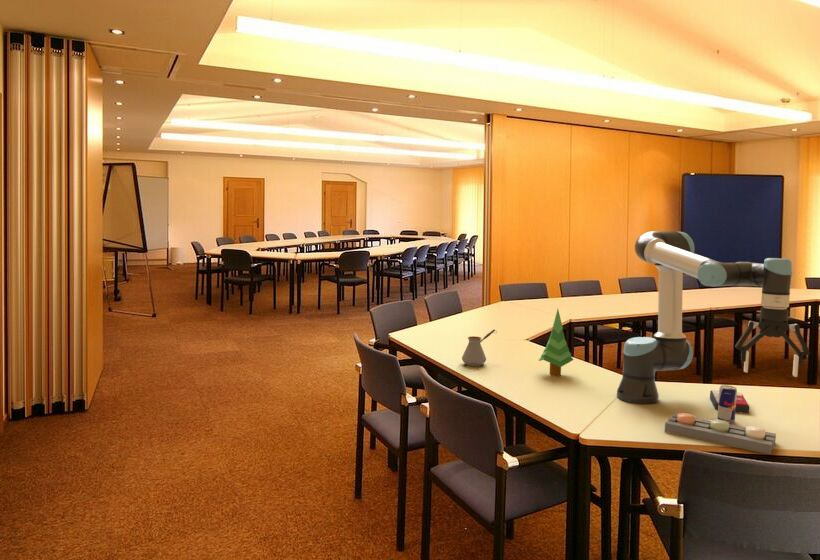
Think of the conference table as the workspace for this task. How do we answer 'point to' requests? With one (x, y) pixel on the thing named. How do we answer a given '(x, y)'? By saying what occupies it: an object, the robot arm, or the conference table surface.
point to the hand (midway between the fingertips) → (769, 373)
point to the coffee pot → (475, 351)
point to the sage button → (719, 425)
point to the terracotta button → (686, 418)
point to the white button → (755, 432)
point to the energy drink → (727, 403)
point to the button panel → (721, 435)
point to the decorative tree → (556, 348)
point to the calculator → (740, 401)
